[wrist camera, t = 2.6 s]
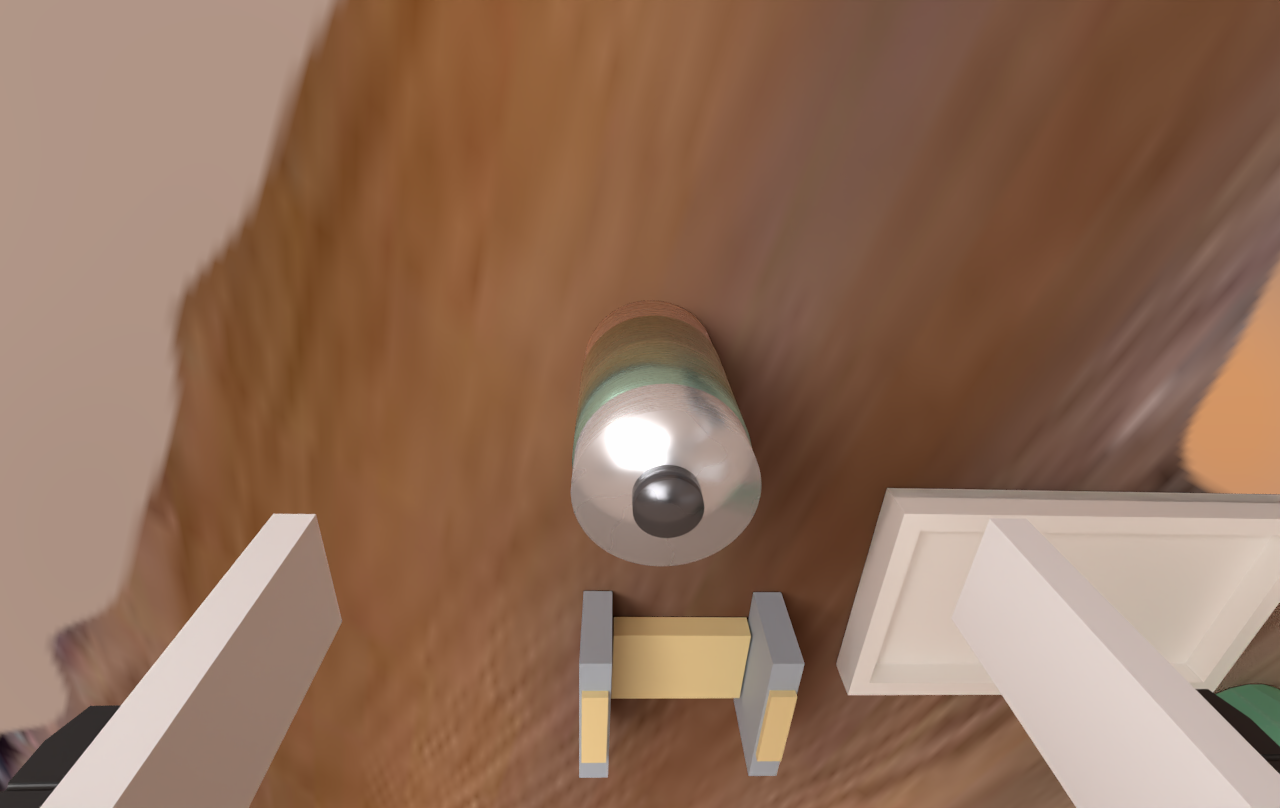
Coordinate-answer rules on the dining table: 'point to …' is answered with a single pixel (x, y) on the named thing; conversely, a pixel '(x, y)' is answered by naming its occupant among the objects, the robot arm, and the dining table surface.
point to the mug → (1257, 706)
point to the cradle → (690, 672)
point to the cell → (660, 441)
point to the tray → (1096, 546)
